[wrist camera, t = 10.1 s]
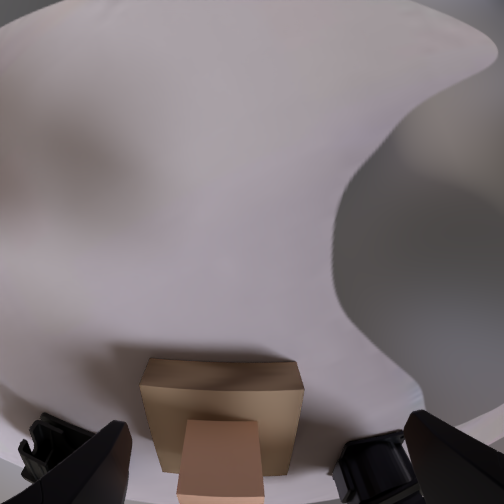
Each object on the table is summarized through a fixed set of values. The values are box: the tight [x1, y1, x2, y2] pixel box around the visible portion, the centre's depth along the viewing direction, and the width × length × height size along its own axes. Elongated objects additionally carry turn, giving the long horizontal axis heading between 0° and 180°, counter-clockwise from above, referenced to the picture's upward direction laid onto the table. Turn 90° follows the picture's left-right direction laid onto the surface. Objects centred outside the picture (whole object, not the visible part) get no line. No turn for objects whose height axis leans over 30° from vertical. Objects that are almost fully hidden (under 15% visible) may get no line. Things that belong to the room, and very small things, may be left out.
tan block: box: [139, 358, 305, 476], centre depth 19 cm, size 10×10×3 cm
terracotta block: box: [176, 420, 265, 504], centre depth 15 cm, size 4×4×6 cm
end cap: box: [18, 412, 129, 504], centre depth 19 cm, size 10×7×7 cm
